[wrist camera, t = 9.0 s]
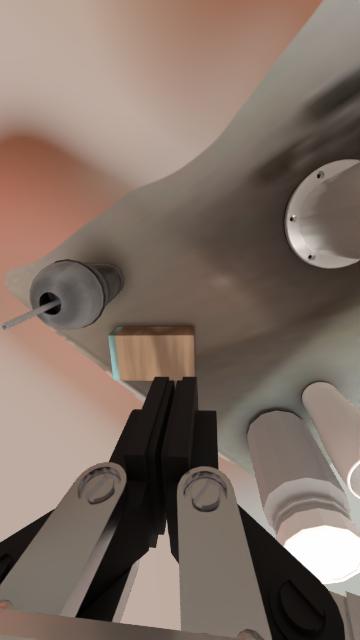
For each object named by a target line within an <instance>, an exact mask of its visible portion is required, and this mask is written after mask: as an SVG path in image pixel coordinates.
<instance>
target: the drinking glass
mask: <svg viewBox="0 0 360 640" xmlns="http://www.w3.org/2000/svg"><path fill="white" fill-rule="evenodd" d="M302 402H303V405H304V406H305V408H306V410H307V411H308V413H309V415H310V417H311V419H312V421H313V424H314V426H315V428H316V430H317V432H318V434H319V436H320V438H321V441H322V443H323V445H324V447H325V449H326V451H327V453H328V455H329V457H330V459H331V461H332V463H333V465H334V466H335V468H336V469H337V471H338V473H339V474H340V476H341V478H342V479H343V481H344V482H345V484H346V485H347V487H348V488H349V490H350V491H351V493H352V494H354V495H355V496H356V497H357V498H359V499H360V410H359V409H358V408H357V407H355V406H354V405H353V404H352V403H351V402H350V401H349V400H347V399H346V398H345V397H344V396H343V395H342V394H341V393H340V392H339V391H338V390H337V389H336V388H335V387H334V386H333V385H331V384H329V383H326V382H316V383H313V384H311V385H309V386H308V387H307V388H306V389H305V390H304V392H303V394H302Z"/></svg>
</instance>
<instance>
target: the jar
mask: <svg viewBox="0 0 360 640" xmlns="http://www.w3.org/2000/svg"><path fill="white" fill-rule="evenodd" d="M247 440H248V445H249V449H250V454H251V458H252V463H253V467H254V471H255V476H256V480H257V484H258V489H259V493H260V498H261V502H262V507H263V511H264V513H265V515H266V518H267V520H268V523H269V525H270V526H271V527H272V528H273V529H274V530H275V533H276V535H277V536H276V539H277V541H278V542H279V543H280V544H281V545H282V546H283V547H284V548H285V549H287V550H288V551H289V552H290V553H291V554H292V555H293V556H294V557H295V558H296V559H297V560H298V561H300V562H301V563H302V564H303V565H304V566H305V567H306V568H307V569H308V570H309V571H310V572H311V573H312V574H314V575H315V576H316V577H317V578H318V579H319V580H320V581H321V583H322V584H329V583H336V582H343V581H345V580H347V579H349V578H350V577H352V576H354V575H355V574H357V573H359V572H360V533H359V531H358V529H357V527H356V525H355V524H354V523H353V522H352V521H351V518H350V515H349V513H350V508H349V504H348V501H347V497H346V494H345V492H344V490H343V489H342V487H341V485H340V483H339V481H338V480H337V478H336V476H335V474H334V473H333V471H332V469H331V467H330V466H329V464H328V462H327V460H326V459H325V457H324V455H323V453H322V451H321V450H320V448H319V446H318V444H317V443H316V441H315V439H314V437H313V436H312V434H311V432H310V430H309V429H308V427H307V425H306V423H305V422H304V421H302V420H301V419H300V418H299V417H297V416H296V415H295V414H294V413H289V412H283V411H272V412H269V413H265V414H262V415H260V416H259V417H258V418H257V419H256V420H255V421H254V422H253V423H252V424H251V425H250V427H249V431H248V435H247Z"/></svg>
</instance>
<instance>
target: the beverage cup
mask: <svg viewBox="0 0 360 640" xmlns="http://www.w3.org/2000/svg"><path fill="white" fill-rule="evenodd" d="M123 286H124V276H123V274H122V272H121V270H120V269H119V268H118V267H116V266H114V265H110V264H98V263H81V262H79V261H74V260H69V259H67V260H60V261H56V262H54V263H53V264H51V265H49V266H47V267H46V268H44V269H42V270H41V271H40V272H39V273H38V275H37V276H36V277H35V278H34V280H33V282H32V285H31V288H30V302H31V305H32V308H33V310H32V311H30V312H28V313H26V314H23V315H21V316H19V317H16V318H14V319H12V320H10V321H7V322H5V323H3V324H1V327H2V329H4V330H7V329H9V328H11V327H13V326H15V325H17V324H19V323H21V322H23V321H25V320H27V319H30V318H32V317H34V316H36V315H37V316H38V317H39V318H40V319H41V320H42V321H43V322H44V323H46V324H48V325H50V326H52V327H54V328H57V329H63V330H73V329H79V328H83V327H87V326H89V325H91V324H93V323H94V322H95V321H96V320H97V319H98V318H99V317H100V316H101V314H102V312H103V310H104V308H105V306H106V305H107V304H108V303H109V302H110V301H111V300H112V299H113V298H114V297H115V296H116V295H117V294H118V293H119V292H120V291H121V290H122V288H123Z"/></svg>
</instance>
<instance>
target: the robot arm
mask: <svg viewBox="0 0 360 640" xmlns="http://www.w3.org/2000/svg"><path fill="white" fill-rule="evenodd" d="M317 175H319V179H318V178H317ZM290 217H292V218H293V220H292V221H290ZM284 227H285V234H286V238H287V241H288V243H289V245H290V247H291V249H292V250H293V252H294V253H295V254H296V255H297V256H298V257H299V258H300V259H302V260H303V261H304V262H306V263H308V264H310V265H313V266H317V267H321V268H340V267H345V266H348V265H351V264H353V263H356V262H358V261H359V260H360V160H354V159H345V160H338V161H334V162H331V163H329V164H326V165H324V166H322V167H320V168H318V169H317V170H315V171H314V172H312V173H311V174H310V175H308V176H307V177H306V178H305V179H304V180H303V181H302V182H301V183H300V184H299V185H298V187H297V188H296V190H295V191H294V192H293V194H292V196H291V198H290V200H289V202H288V205H287V209H286V212H285V220H284ZM309 255H311V257H310V259H308V256H309ZM166 520H167V524H168V533H169V537H170V547H171V553H172V555H173V556H174V558H175V559H176V561H177V562H178V563H179V574H180V575H179V576H180V607H181V608H180V610H181V631H178V630H170V629H163V628H155V627H147V626H139V625H131V624H122V623H120V621H121V618H122V615H123V612H124V609H125V606H126V603H127V600H128V598H129V594H130V592H131V588H132V586H133V583H134V580H135V577H136V574H137V571H138V566H139V559H140V558H141V557H142V556H143V555H144V554H145V553H147V552H148V551H149V547H153V548H156V544H157V539H158V534H160V535H163V534H164V532H165V527H166ZM0 640H360V596H357V595H355V594H352V593H349V592H345V597H344V596H341V595H339V594H336V593H333V592H331V591H328V589H327V588H326V587H325V586H324V585H323V584H322V583H321V581H320V580H319V579H318V578H317V577H316V576H315V575H314V574H312V573H311V572H310V571H309V570H308V569H307V568H306V567H305V566H304V565H303V564H302V563H301V562H300V561H298V560H297V559H296V558H295V557H294V556H293V555H292V554H291V553H290V552H289V551H288V550H287V549H285V548H284V547H283V546H282V545H281V544H280V543H279V542H278V541H277V540H276V539H275V538H273V536H271V535H270V534H269V533H268V532H267V531H266V530H265V529H264V528H263V527H262V526H261V525H260V524H258V523H257V522H256V521H255V520H254V519H253V518H252V517H251V516H250V515H249V514H248V513H247V512H246V511H245V510H243V509H242V508H241V507H240V506H239V505H238V504H237V501H236V497H235V493H234V489H233V486H232V484H231V482H230V480H229V479H228V478H227V476H226V475H225V474H224V473H222V472H221V471H219V470H218V446H217V419H216V411H200V410H198V392H197V377H183V378H182V380H178V381H177V385H176V389H175V385H174V380H169V377H155V378H154V380H153V382H152V385H151V387H150V390H149V392H148V395H147V397H146V400H145V402H144V405H143V407H142V410H139V409H135V410H133V411H132V412H131V414H130V416H129V418H128V420H127V423H126V425H125V427H124V429H123V431H122V434H121V436H120V438H119V440H118V442H117V445H116V447H115V449H114V451H113V454H112V456H111V458H110V460H109V462H105V463H99V464H96V465H94V466H92V467H90V468H88V469H87V470H85V471H84V472H83V473H82V474H81V475H80V476H79V477H78V478H77V479H76V481H75V482H74V483H73V485H72V486H71V488H70V489H69V491H68V492H67V493H66V495H65V496H64V497H63V499H62V500H61V501H60V503H59V504H58V506H57V507H56V508H55V509H54V510H52V511H50V512H49V513H47V514H46V515H44V516H42V517H41V518H39V519H38V520H36V521H34V522H33V523H31V524H29V525H28V526H26V527H24V528H23V529H21V530H20V531H18V532H16V533H15V534H13V535H12V536H10V537H8V538H7V539H5V540H4V541H2V542H0Z"/></svg>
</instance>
